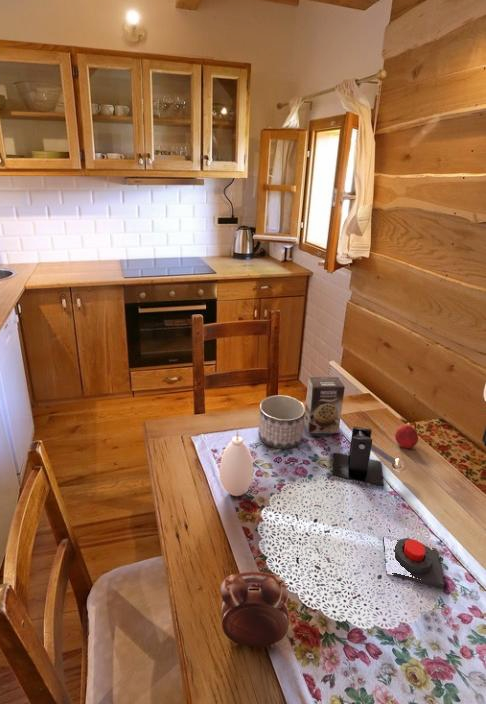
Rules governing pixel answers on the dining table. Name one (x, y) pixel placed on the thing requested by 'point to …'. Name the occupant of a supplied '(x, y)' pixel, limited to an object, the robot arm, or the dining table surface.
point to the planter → (281, 421)
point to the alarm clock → (254, 609)
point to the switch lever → (386, 456)
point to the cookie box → (323, 404)
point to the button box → (420, 566)
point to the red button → (414, 550)
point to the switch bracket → (358, 461)
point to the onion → (406, 436)
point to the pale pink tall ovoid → (236, 467)
